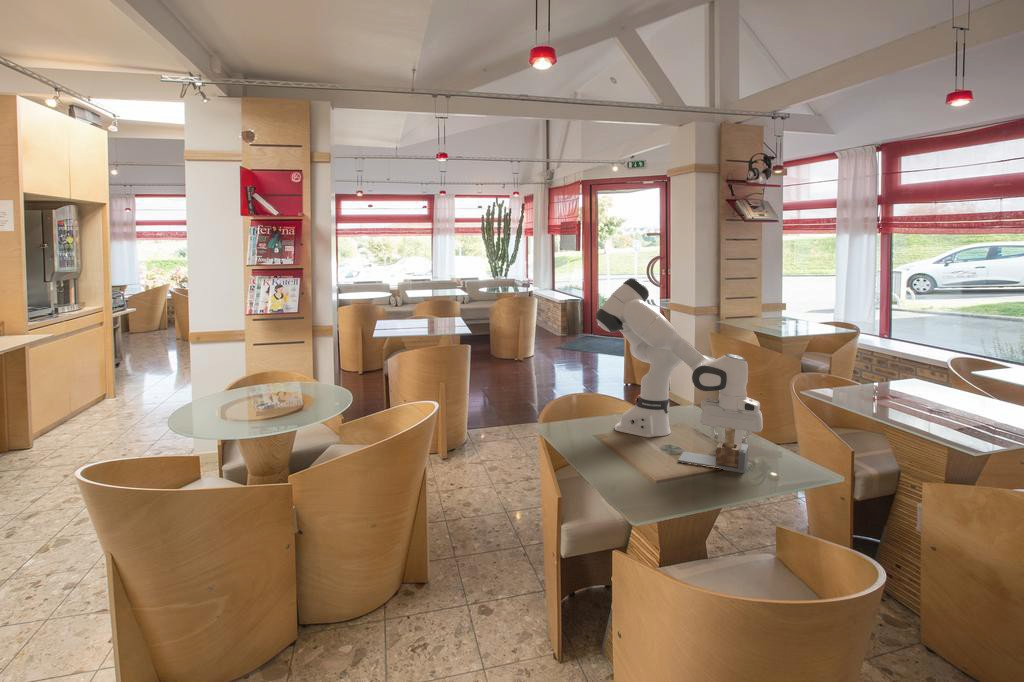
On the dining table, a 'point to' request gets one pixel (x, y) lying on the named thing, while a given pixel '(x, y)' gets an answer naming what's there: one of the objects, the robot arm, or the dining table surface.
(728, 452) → the block
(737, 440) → the milk carton
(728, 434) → the dowel
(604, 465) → the dining table surface
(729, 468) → the grey l-shaped piece
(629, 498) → the dining table surface
